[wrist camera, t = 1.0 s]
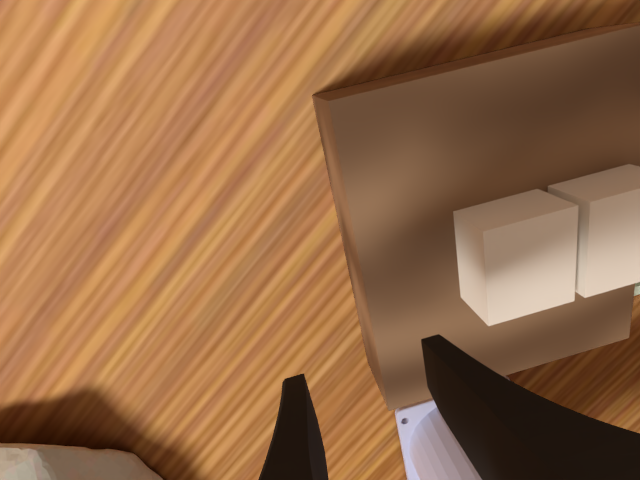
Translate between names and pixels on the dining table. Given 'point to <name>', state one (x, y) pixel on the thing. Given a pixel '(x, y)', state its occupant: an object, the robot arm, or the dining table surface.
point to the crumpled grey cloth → (69, 463)
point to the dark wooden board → (473, 191)
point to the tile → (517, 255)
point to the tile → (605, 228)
